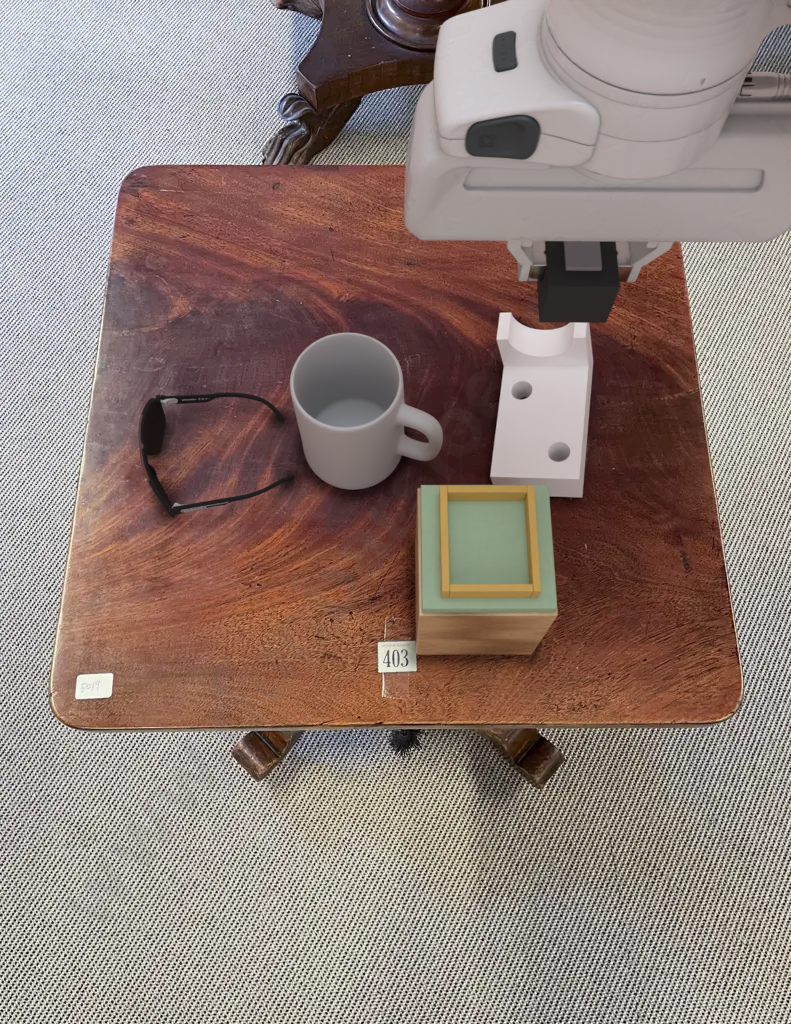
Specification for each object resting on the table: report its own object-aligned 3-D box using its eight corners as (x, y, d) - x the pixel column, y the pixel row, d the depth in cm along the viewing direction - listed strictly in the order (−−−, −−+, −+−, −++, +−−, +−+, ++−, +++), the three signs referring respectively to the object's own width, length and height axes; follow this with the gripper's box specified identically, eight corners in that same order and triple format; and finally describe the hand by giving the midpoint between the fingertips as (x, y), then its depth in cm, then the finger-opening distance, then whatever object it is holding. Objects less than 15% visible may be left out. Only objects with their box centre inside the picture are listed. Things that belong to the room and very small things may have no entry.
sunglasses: (142, 418, 74) (133, 388, 70) (280, 403, 76) (280, 373, 72) (153, 531, 70) (144, 507, 66) (298, 511, 73) (299, 487, 68)
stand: (525, 545, 70) (548, 487, 59) (531, 654, 67) (558, 615, 55) (414, 545, 70) (417, 487, 59) (416, 654, 67) (418, 615, 56)
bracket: (512, 362, 77) (499, 312, 71) (593, 361, 75) (587, 310, 68) (496, 494, 73) (481, 454, 66) (582, 497, 70) (575, 456, 64)
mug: (287, 471, 72) (269, 409, 62) (327, 388, 75) (315, 316, 65) (420, 519, 71) (424, 463, 61) (456, 432, 74) (464, 365, 63)
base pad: (546, 490, 59) (552, 475, 56) (554, 612, 56) (561, 602, 53) (420, 490, 59) (421, 475, 56) (422, 612, 56) (422, 602, 53)
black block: (599, 254, 53) (614, 211, 49) (606, 323, 51) (622, 284, 47) (534, 253, 53) (544, 211, 49) (539, 322, 51) (549, 283, 48)
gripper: (859, 23, 39) (744, 230, 52) (405, 21, 39) (403, 227, 52) (887, 131, 36) (759, 319, 49) (404, 128, 36) (402, 316, 49)
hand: (574, 272), depth 50 cm, fingers closed on black block, 4 cm apart
